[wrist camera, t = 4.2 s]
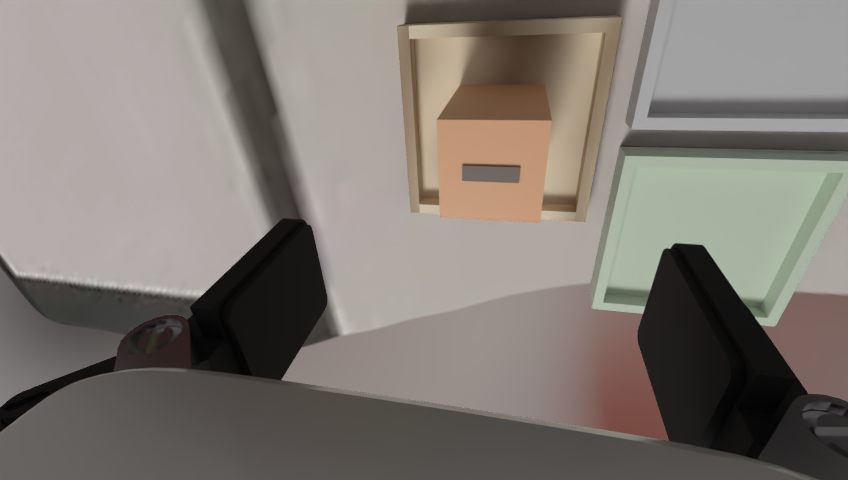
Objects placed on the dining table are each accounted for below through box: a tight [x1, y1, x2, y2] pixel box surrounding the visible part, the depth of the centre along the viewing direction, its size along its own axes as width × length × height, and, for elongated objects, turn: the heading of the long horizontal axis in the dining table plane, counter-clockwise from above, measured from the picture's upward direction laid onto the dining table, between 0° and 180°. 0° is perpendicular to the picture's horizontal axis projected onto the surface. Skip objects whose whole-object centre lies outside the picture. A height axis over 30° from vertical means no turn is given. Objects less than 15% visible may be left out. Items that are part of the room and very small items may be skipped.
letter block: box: [437, 84, 552, 223], centre depth 20 cm, size 4×5×7 cm
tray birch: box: [397, 15, 623, 222], centre depth 23 cm, size 11×11×2 cm
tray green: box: [589, 147, 848, 326], centre depth 24 cm, size 11×11×2 cm
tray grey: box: [625, 0, 848, 132], centre depth 17 cm, size 11×11×2 cm
